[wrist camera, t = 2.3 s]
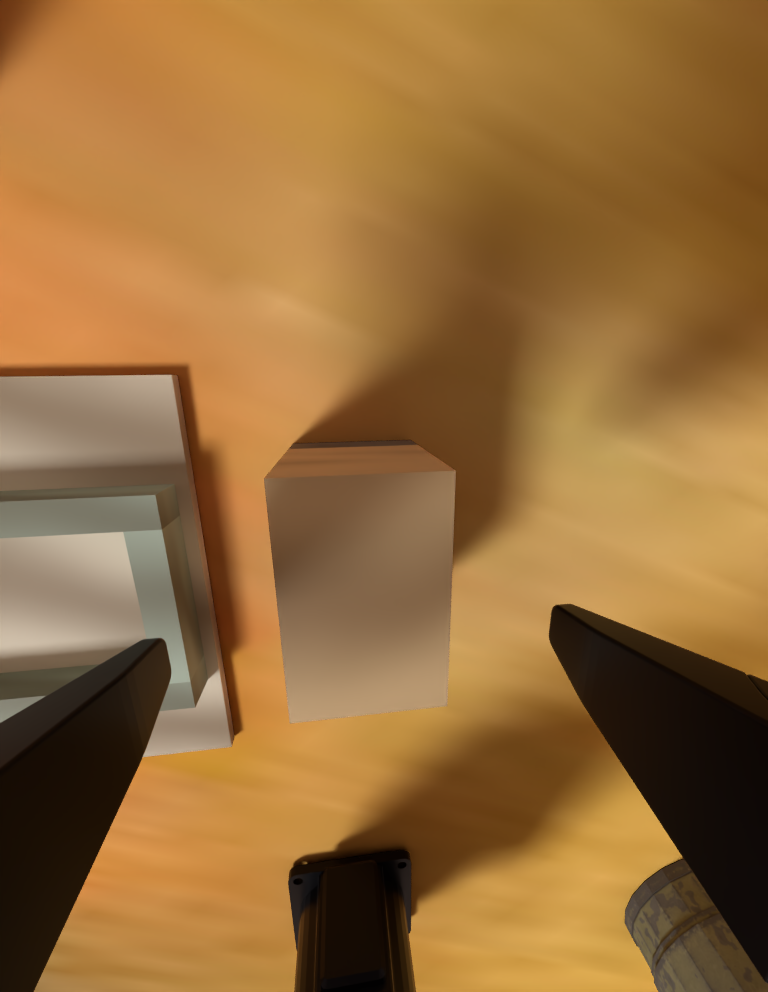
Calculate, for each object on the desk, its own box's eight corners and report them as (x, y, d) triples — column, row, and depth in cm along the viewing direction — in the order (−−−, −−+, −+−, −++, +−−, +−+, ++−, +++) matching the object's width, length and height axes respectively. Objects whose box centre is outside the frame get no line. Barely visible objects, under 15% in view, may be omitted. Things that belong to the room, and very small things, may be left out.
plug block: (409, 597, 17) (447, 706, 11) (306, 605, 16) (289, 723, 10) (409, 439, 15) (455, 470, 9) (293, 443, 14) (263, 478, 9)
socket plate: (234, 737, 17) (221, 779, 16) (-56, 769, 16) (-108, 820, 14) (177, 375, 13) (150, 372, 11) (-226, 379, 12) (-335, 377, 10)
